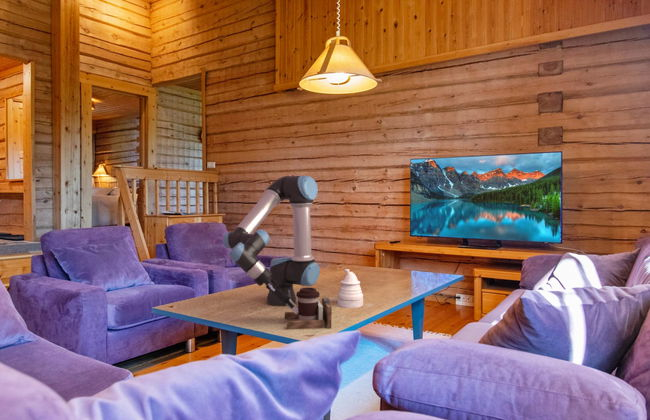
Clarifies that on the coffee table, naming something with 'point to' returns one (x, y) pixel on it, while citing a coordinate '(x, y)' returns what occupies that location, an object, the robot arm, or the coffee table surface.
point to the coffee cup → (307, 303)
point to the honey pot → (350, 292)
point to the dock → (311, 323)
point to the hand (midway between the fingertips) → (298, 311)
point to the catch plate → (320, 311)
